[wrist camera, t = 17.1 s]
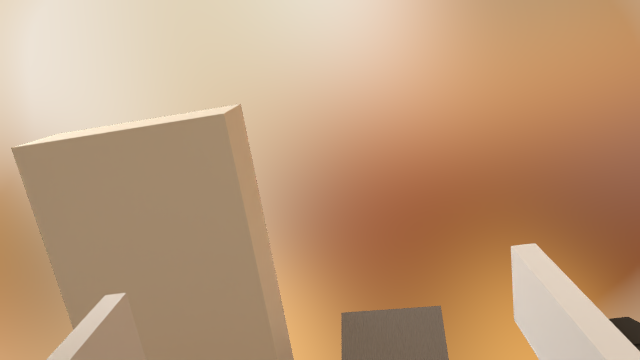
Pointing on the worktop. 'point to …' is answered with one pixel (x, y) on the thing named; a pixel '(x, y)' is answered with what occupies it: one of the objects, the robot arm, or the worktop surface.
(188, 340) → the riser
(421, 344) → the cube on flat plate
